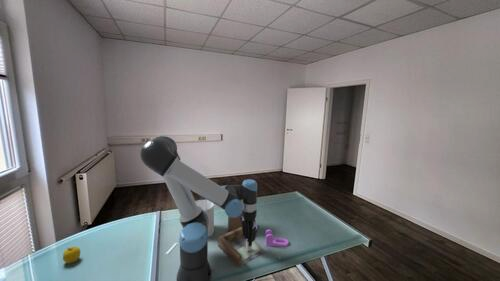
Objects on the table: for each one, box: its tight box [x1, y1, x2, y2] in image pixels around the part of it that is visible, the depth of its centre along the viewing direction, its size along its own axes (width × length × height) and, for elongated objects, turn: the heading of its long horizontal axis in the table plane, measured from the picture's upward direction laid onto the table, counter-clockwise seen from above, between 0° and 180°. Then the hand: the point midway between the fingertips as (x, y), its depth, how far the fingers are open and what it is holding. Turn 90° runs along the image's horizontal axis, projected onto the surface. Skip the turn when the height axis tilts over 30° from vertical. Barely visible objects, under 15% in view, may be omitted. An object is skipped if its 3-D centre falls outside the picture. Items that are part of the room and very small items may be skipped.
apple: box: [62, 246, 81, 264], centre depth 94 cm, size 6×6×8 cm
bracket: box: [264, 229, 289, 248], centre depth 112 cm, size 13×6×7 cm, turn 90°
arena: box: [217, 227, 267, 269], centre depth 106 cm, size 19×19×6 cm
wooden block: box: [227, 200, 243, 233], centre depth 123 cm, size 10×10×20 cm
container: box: [195, 199, 215, 238], centre depth 120 cm, size 14×14×18 cm
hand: (248, 250), depth 105 cm, fingers closed, pressing on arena
